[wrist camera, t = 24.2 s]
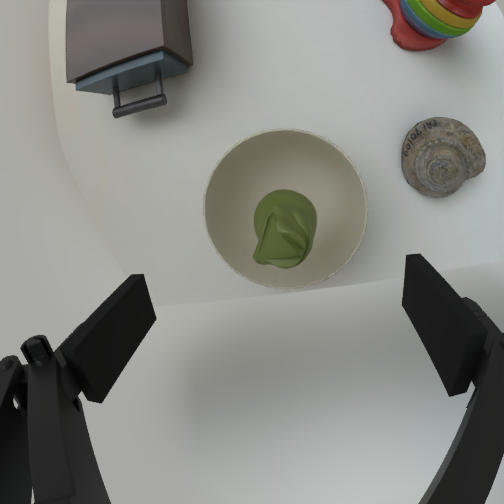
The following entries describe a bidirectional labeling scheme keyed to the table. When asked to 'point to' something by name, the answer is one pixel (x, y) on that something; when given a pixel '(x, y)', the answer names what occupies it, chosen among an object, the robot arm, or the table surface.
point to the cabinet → (123, 33)
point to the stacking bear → (432, 21)
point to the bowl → (291, 178)
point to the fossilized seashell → (441, 156)
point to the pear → (284, 228)
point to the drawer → (134, 80)
